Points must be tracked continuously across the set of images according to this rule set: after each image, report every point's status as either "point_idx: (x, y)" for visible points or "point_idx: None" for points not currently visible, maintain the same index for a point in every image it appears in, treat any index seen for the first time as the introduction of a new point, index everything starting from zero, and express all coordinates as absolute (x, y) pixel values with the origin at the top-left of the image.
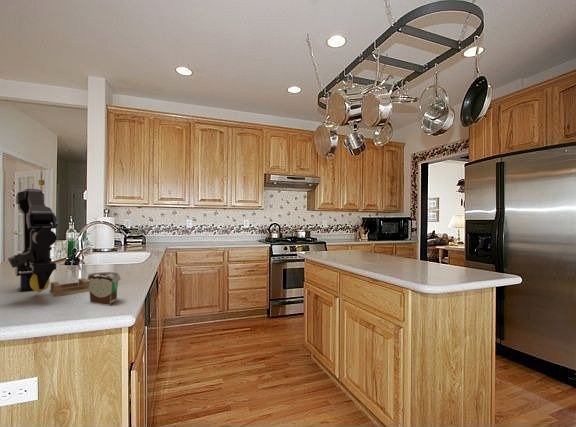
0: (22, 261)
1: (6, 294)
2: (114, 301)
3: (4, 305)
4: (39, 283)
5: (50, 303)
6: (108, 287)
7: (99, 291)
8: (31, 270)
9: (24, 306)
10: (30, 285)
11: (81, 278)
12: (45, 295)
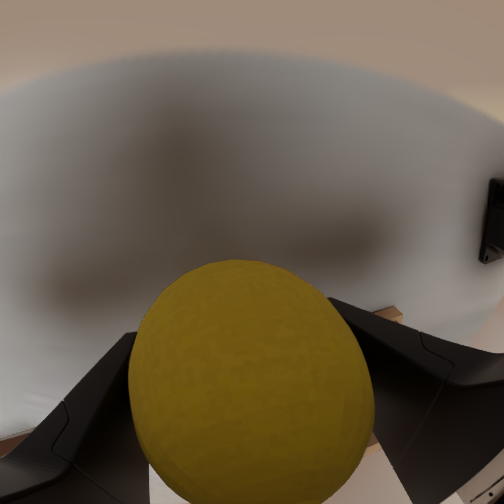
0: None
1: (483, 120)
2: None
3: (191, 50)
4: (92, 379)
5: (63, 323)
6: None
7: None
8: (490, 391)
9: (57, 183)
10: (206, 271)
11: (379, 446)
12: (333, 294)
